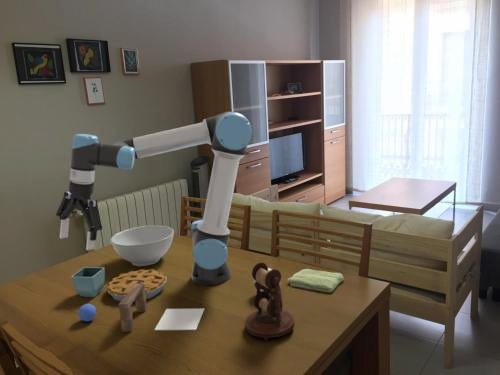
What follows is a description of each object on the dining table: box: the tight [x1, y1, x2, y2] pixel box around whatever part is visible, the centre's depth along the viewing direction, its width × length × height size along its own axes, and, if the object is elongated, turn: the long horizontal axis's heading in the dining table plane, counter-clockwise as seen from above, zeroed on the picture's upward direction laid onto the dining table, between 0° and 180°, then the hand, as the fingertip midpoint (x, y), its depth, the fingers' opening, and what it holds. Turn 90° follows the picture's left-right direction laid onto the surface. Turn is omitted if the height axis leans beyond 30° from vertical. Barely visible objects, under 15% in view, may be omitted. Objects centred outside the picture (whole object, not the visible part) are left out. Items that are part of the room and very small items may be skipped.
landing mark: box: [154, 308, 205, 331], centre depth 140 cm, size 13×13×1 cm
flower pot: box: [71, 266, 106, 298], centre depth 162 cm, size 9×9×9 cm
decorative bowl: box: [110, 224, 175, 267], centre depth 192 cm, size 27×27×12 cm
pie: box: [106, 268, 168, 302], centre depth 164 cm, size 22×22×5 cm
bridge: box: [118, 284, 148, 333], centre depth 141 cm, size 3×14×9 cm, turn 174°
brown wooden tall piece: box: [244, 262, 295, 342], centre depth 129 cm, size 15×15×20 cm
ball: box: [77, 303, 97, 322], centre depth 143 cm, size 6×6×6 cm
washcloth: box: [287, 268, 345, 293], centre depth 160 cm, size 13×18×3 cm
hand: (76, 243), depth 147 cm, fingers open, 13 cm apart
